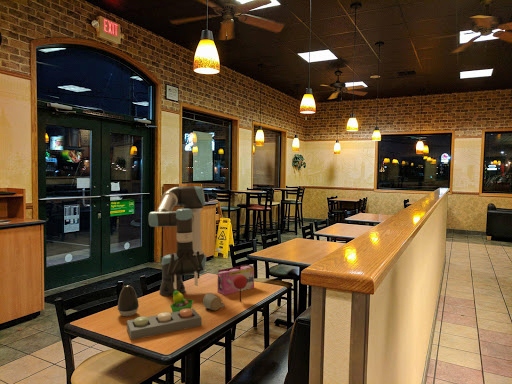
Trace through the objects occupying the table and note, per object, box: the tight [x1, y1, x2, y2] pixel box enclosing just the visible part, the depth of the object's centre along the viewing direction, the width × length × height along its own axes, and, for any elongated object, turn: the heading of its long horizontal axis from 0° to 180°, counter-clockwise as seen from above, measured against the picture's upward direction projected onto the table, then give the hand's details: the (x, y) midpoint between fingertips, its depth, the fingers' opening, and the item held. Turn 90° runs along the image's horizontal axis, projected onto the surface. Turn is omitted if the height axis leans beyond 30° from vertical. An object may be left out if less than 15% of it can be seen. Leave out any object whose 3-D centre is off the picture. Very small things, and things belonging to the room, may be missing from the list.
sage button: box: [134, 316, 149, 327], centre depth 167 cm, size 6×6×2 cm
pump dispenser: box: [117, 284, 139, 317], centre depth 189 cm, size 10×10×15 cm
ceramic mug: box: [202, 292, 225, 311], centre depth 196 cm, size 11×8×8 cm
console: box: [126, 308, 202, 341], centre depth 172 cm, size 13×32×4 cm, turn 117°
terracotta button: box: [180, 308, 193, 318], centre depth 177 cm, size 6×6×2 cm
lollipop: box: [233, 275, 247, 302], centre depth 206 cm, size 8×8×15 cm
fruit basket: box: [170, 291, 194, 313], centre depth 191 cm, size 11×9×11 cm
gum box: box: [217, 264, 255, 296], centre depth 226 cm, size 24×8×14 cm, turn 127°
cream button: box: [157, 311, 172, 322], centre depth 172 cm, size 6×6×2 cm
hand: (185, 287), depth 176 cm, fingers open, 10 cm apart
